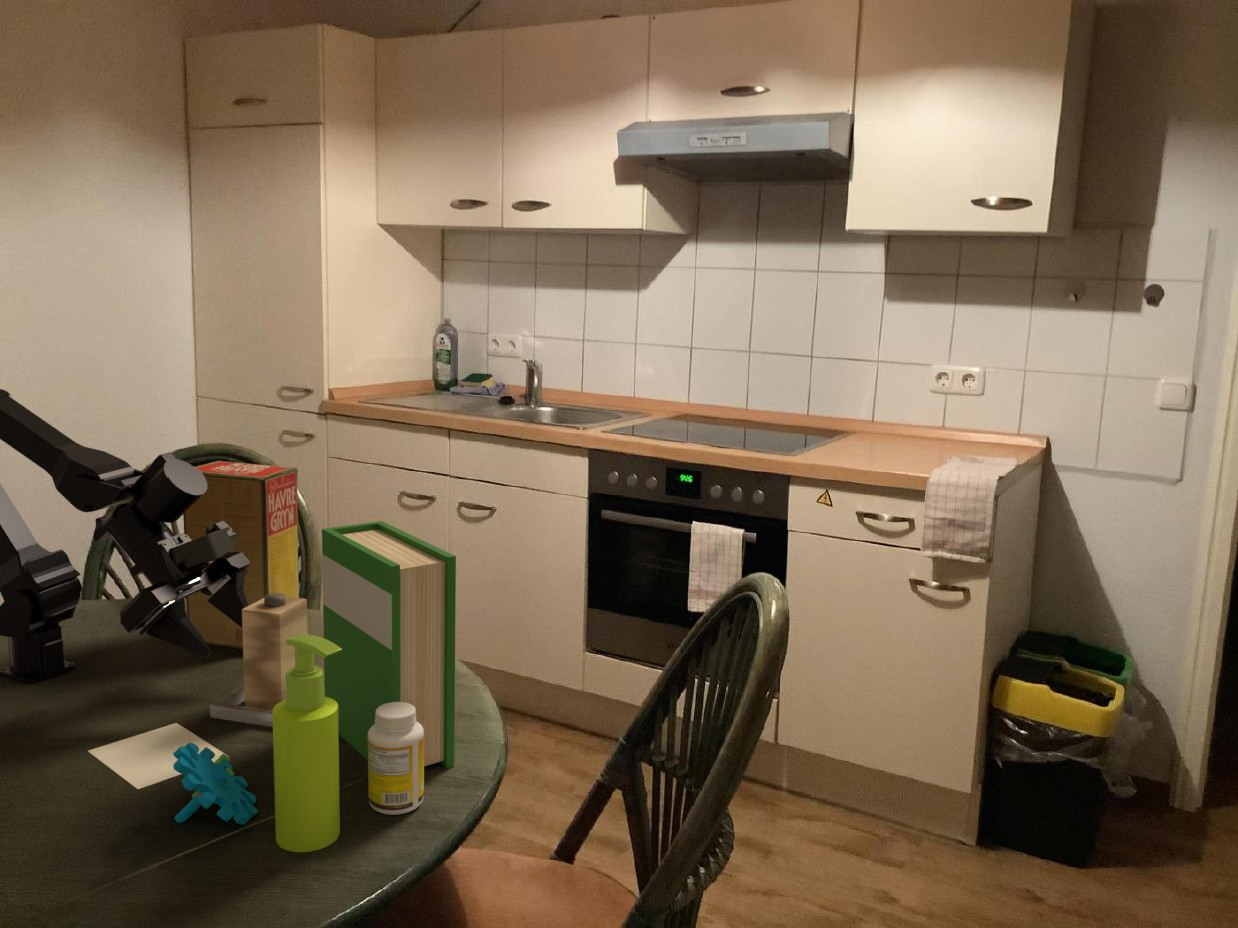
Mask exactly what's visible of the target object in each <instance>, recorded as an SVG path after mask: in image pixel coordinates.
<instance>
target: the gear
mask: <svg viewBox="0 0 1238 928" xmlns="http://www.w3.org/2000/svg"><path fill="white" fill-rule="evenodd" d="M198 751H199V748H198V746H197V745H195V744H193V743H190V742H189V743H188V744H187V745H186V746H185V747H184V746H181V747H179V748H178V749H177V750H176V751H175V752H174V753H173V755H174V756H175V757H176V758H177V759H178V760H177V761H176V762H175V763H174V765H173V768H174V770H176V771H177V772H179V773H181V774H180V775H183V776H184V777H183V778H182V779H181V781H180V782H181V783H182V785H183V787H184V789H186V790H187V791H189V792H190V791H195V792H194V793H193V794H192V795H191V798H192V799H191V800H190V801H189V802H188V803H187V804H186V805H185V806H184V807H183V808H182V809H181V810H180V811H179V812H178V813H177V814H176V815H175V816H174V820H175V821H176V823H178V824H180V823H184V822H186V821H187V820H188V819H189V818H190V817H191V816H192V815H193V814H194V813H195V812H196V811H197V810H198V809H199V808H200V807H201V806H202V807H203V808H204V809H205V810H207V809H209V808H210V807H211V806H213V804H216V805H218V806H219V807H220V809H218V810H217V813H216V815H217V816H218V817H219V818H221V820H224V821H225V822H228V821H230V820H231V819H232V817H233V819H234V821H235V823H236V824H239V825H242V826H244V825H246V823H248V822H249V821H250V819H252V818H253V817H254V816H255V815H256V814H257V813H258V812H259V810H258V809H257V808H256V807H255V806H254V804H256V802H257V797H256V795H255V794H254V793H252V792H250V791H247V790H246V788H247V787H248V786H249V784H248V782H247V780H246V779H245V778H244V777H243V776H241V775H238V776H237V775H235V773H234V771H233V769H234V767H233V766H232V765H231V763H230V762H231V759H230V756H229V755H228V754H226V753H224V754H222V755H221V756H220V757H219V758H218V759H217V760H216V761H215V762H213V761H212V760H211V759H212V758H213V757H214V756H215V753H214V752H213V751H211V750H210V749H208V748H207V747H205V748H204V749H203V750H202V751H201V752H200V753H199V754H198ZM225 754H226V755H225ZM228 756H229V757H228Z"/></svg>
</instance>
